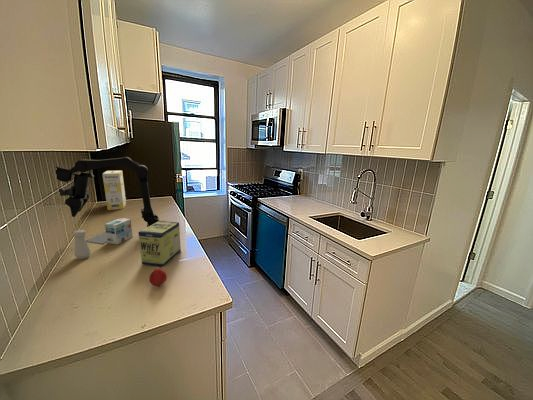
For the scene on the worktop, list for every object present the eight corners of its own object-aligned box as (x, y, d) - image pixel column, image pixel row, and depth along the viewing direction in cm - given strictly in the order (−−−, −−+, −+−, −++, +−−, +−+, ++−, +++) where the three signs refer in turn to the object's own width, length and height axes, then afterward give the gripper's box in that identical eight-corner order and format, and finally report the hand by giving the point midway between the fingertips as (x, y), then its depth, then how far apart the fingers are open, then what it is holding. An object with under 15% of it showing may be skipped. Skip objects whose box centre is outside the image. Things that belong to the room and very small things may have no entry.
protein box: (141, 265, 98) (137, 232, 95) (162, 249, 113) (159, 220, 110) (163, 267, 97) (160, 234, 93) (181, 251, 112) (179, 221, 108)
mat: (125, 234, 129) (125, 233, 129) (102, 244, 116) (102, 243, 116) (108, 231, 132) (108, 231, 132) (84, 241, 119) (84, 240, 119)
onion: (149, 292, 81) (147, 273, 79) (150, 283, 86) (148, 264, 84) (167, 289, 83) (165, 269, 81) (167, 280, 88) (165, 262, 86)
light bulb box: (117, 244, 116) (114, 225, 114) (106, 243, 117) (103, 223, 115) (133, 236, 126) (131, 218, 124) (123, 235, 128) (120, 217, 125)
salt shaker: (73, 261, 99) (68, 234, 96) (77, 255, 104) (72, 229, 101) (90, 258, 102) (85, 232, 99) (92, 253, 107) (88, 227, 103)
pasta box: (123, 208, 176) (119, 173, 170) (107, 210, 172) (102, 173, 165) (126, 203, 192) (122, 170, 185) (111, 204, 188) (107, 170, 181)
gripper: (65, 178, 116) (61, 207, 118) (52, 184, 100) (47, 217, 102) (92, 182, 121) (88, 210, 123) (83, 189, 105) (78, 220, 107)
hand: (76, 214), depth 114 cm, fingers open, 9 cm apart
